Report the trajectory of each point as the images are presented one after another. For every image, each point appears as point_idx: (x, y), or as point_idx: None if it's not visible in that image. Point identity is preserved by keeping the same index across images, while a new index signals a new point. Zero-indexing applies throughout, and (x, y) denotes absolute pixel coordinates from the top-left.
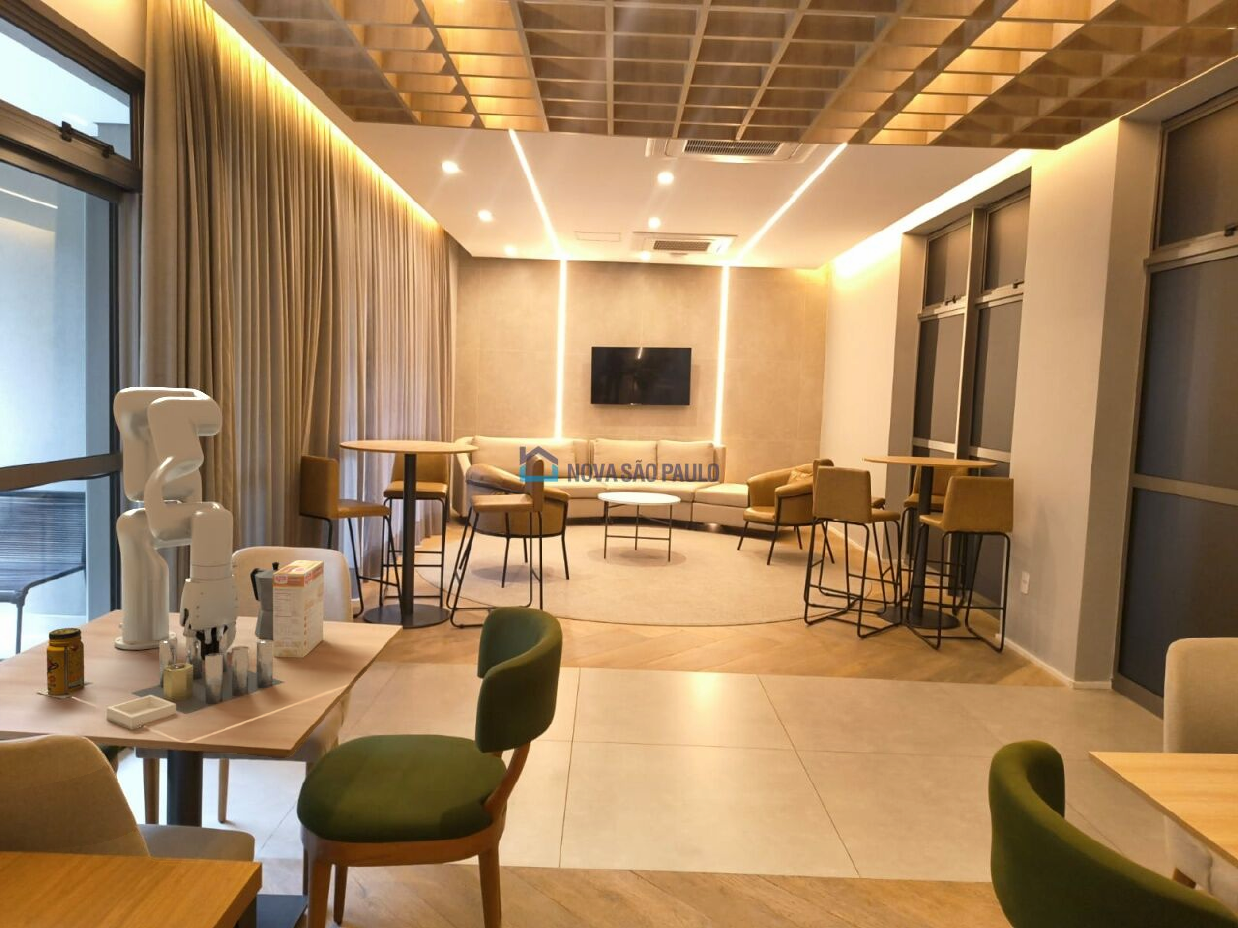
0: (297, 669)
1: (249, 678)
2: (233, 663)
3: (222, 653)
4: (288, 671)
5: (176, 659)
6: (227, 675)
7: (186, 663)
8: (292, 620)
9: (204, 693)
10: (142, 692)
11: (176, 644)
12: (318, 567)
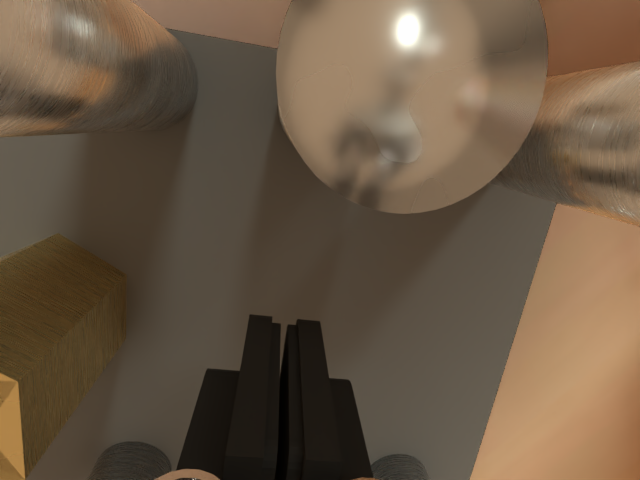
0: (630, 418)
1: (438, 368)
2: None
3: (535, 196)
4: (596, 407)
5: (120, 116)
6: (430, 246)
7: (13, 408)
8: None
9: (175, 363)
10: None
11: (25, 109)
12: None
